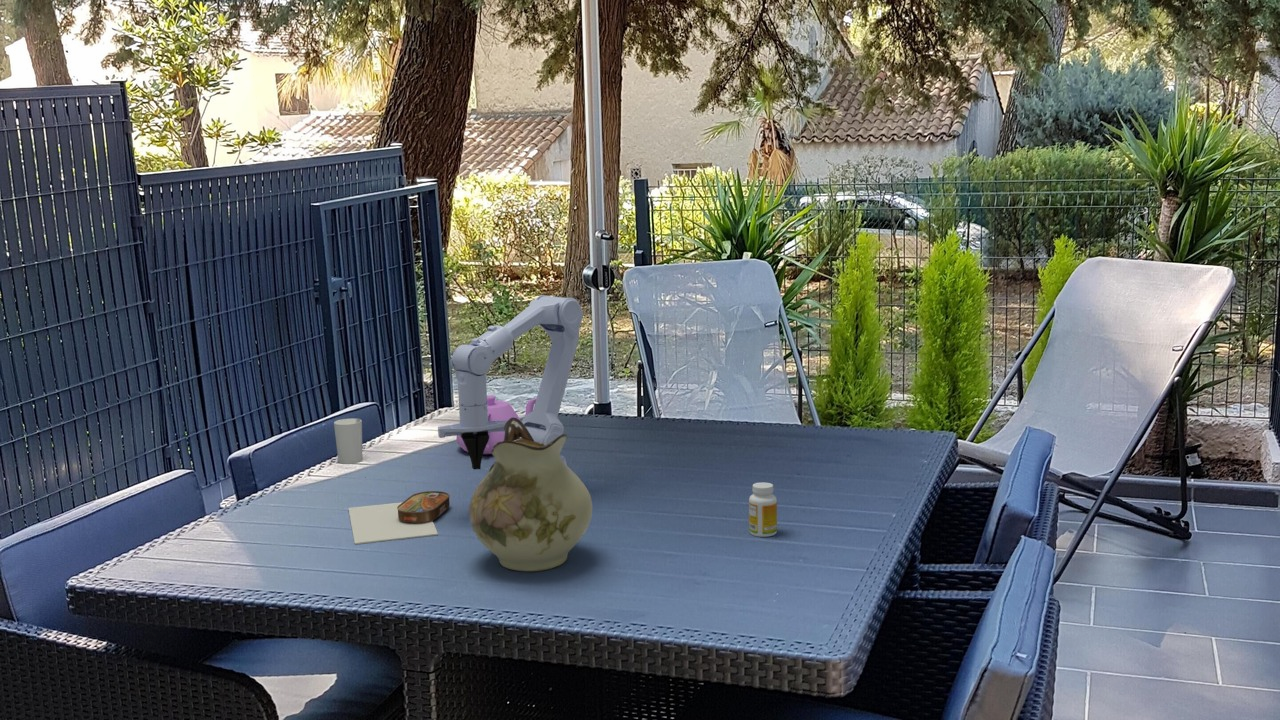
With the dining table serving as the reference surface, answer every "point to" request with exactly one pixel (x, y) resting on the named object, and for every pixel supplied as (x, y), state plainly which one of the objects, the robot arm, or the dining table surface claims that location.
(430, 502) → the tin
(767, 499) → the supplement bottle
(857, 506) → the dining table surface
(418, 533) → the mat
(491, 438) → the teapot
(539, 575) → the dining table surface
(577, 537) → the pitcher
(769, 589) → the dining table surface
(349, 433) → the drinking glass
